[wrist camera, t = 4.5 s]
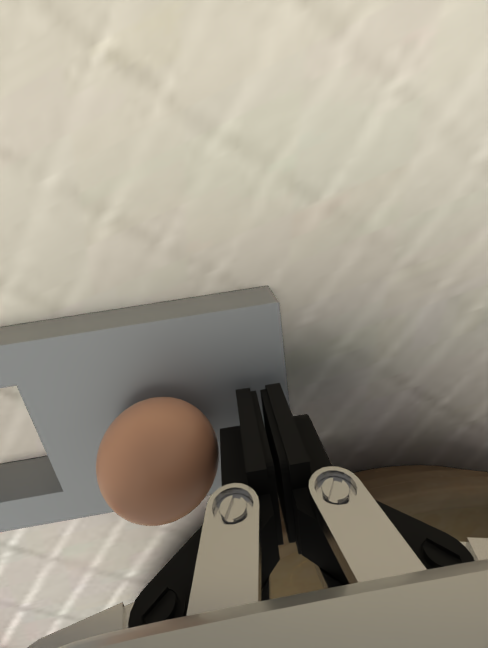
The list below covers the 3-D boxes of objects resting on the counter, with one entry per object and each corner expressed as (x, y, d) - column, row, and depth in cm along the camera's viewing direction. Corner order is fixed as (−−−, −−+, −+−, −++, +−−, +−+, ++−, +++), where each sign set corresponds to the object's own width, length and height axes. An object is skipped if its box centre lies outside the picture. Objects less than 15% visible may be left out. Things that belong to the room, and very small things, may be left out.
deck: (285, 441, 17) (296, 479, 15) (-27, 495, 16) (-67, 544, 14) (268, 285, 14) (279, 302, 12) (-115, 344, 13) (-184, 374, 11)
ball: (229, 453, 14) (224, 550, 10) (135, 464, 14) (95, 562, 10) (213, 369, 12) (200, 444, 8) (109, 382, 12) (51, 461, 9)
